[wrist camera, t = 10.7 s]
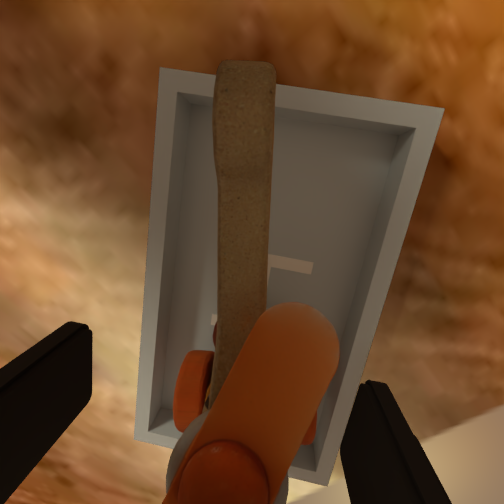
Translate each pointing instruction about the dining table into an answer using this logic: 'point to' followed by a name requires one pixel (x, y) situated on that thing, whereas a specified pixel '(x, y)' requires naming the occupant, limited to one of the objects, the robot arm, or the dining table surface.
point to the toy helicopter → (247, 327)
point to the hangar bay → (280, 236)
